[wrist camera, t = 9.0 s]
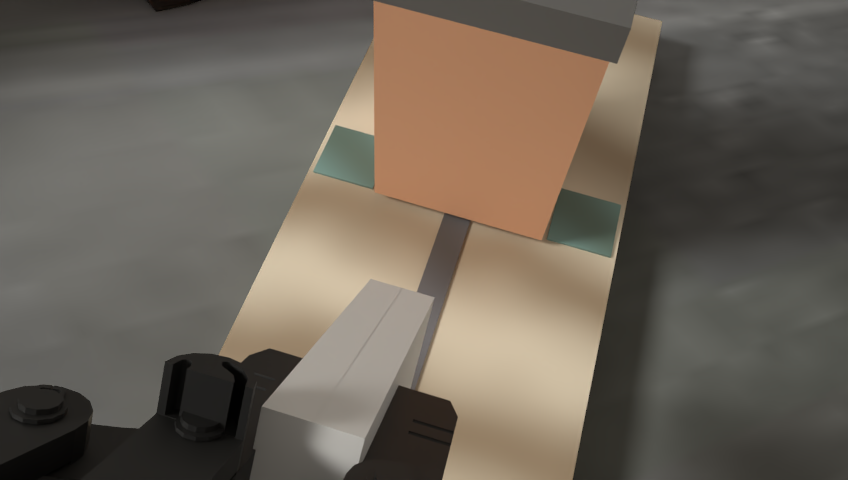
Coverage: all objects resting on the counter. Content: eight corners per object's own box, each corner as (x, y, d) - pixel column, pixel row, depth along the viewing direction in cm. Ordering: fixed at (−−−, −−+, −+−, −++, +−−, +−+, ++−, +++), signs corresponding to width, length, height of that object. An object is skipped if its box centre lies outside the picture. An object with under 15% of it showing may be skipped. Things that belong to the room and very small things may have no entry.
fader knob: (546, 242, 26) (631, 28, 18) (369, 190, 27) (365, -39, 18) (573, 139, 29) (658, -92, 20) (410, 95, 30) (424, -147, 21)
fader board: (495, 802, 20) (507, 815, 18) (97, 653, 21) (72, 650, 19) (648, 53, 35) (662, 19, 33) (410, -8, 36) (412, -44, 34)
